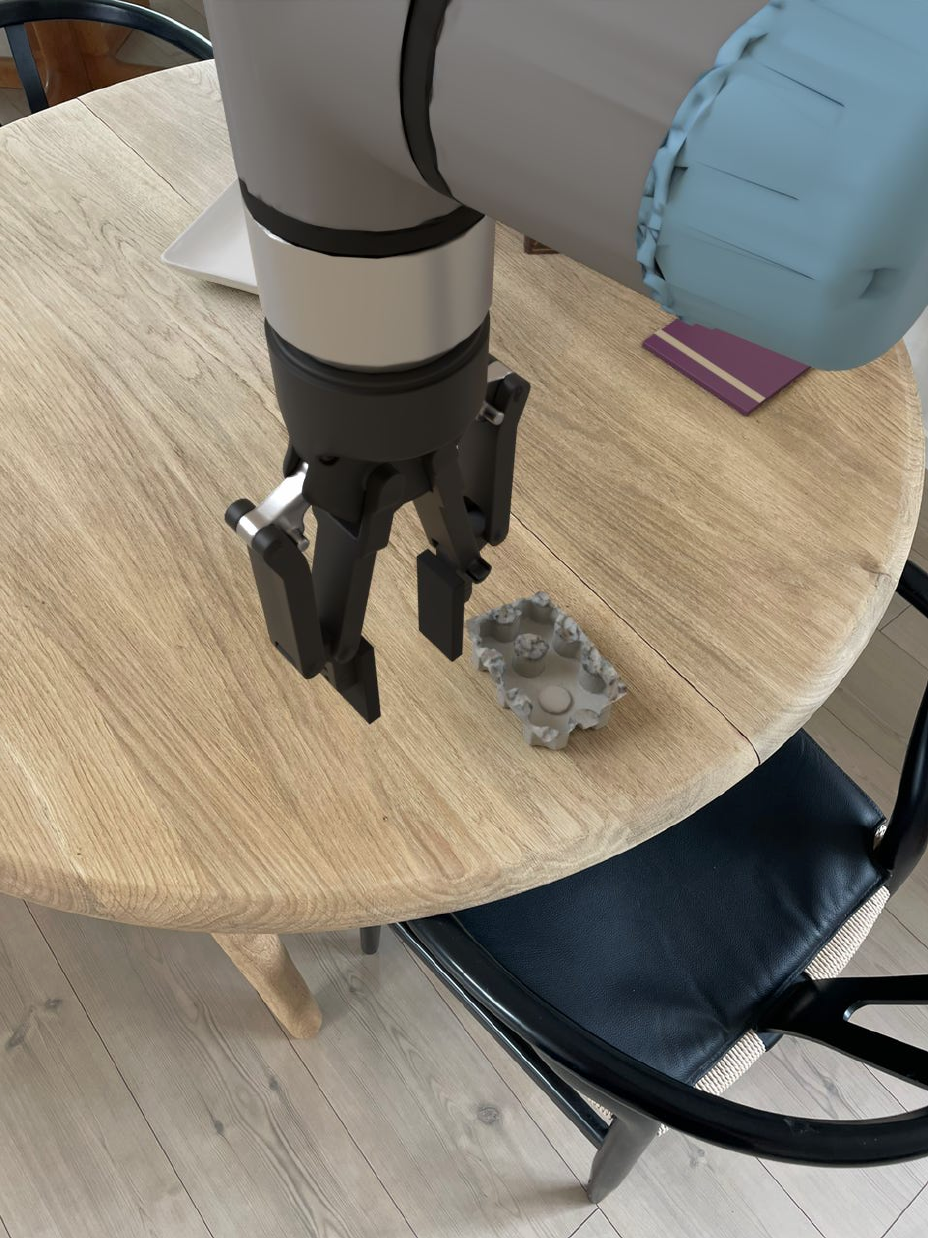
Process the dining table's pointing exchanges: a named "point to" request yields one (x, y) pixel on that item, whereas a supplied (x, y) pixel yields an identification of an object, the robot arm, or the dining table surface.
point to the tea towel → (725, 364)
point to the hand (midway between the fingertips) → (400, 671)
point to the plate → (216, 244)
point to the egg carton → (544, 669)
